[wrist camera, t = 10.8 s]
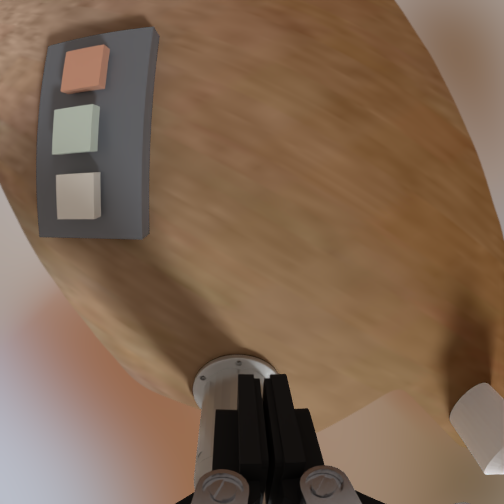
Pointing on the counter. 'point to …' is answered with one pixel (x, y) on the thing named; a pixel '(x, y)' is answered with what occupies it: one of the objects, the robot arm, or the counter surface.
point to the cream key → (78, 196)
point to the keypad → (102, 137)
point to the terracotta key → (85, 69)
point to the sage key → (75, 129)
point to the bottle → (482, 426)
